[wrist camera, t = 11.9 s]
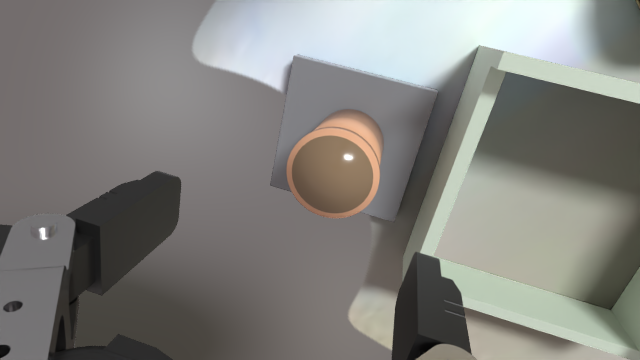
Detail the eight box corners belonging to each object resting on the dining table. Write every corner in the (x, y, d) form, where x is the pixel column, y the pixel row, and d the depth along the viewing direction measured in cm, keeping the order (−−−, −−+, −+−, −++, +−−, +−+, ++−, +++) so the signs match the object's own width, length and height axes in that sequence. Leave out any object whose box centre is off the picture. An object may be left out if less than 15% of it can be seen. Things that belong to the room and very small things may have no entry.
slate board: (298, 54, 34) (293, 55, 32) (436, 89, 32) (438, 92, 31) (275, 179, 38) (270, 185, 37) (394, 215, 37) (394, 222, 36)
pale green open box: (479, 45, 30) (504, 51, 22) (759, 111, 28) (904, 145, 20) (403, 256, 38) (400, 318, 30) (616, 322, 36) (677, 408, 28)
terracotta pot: (322, 97, 33) (296, 118, 26) (396, 118, 32) (391, 145, 25) (306, 166, 35) (278, 202, 28) (374, 187, 35) (364, 229, 27)
